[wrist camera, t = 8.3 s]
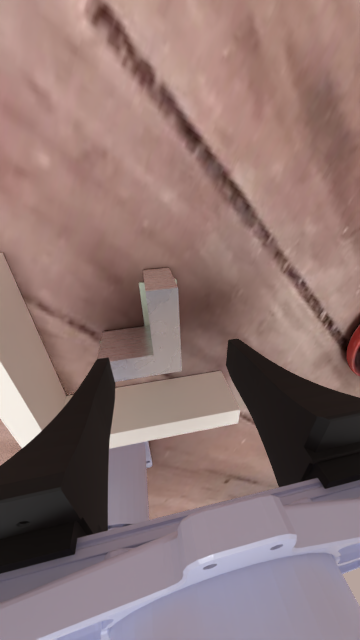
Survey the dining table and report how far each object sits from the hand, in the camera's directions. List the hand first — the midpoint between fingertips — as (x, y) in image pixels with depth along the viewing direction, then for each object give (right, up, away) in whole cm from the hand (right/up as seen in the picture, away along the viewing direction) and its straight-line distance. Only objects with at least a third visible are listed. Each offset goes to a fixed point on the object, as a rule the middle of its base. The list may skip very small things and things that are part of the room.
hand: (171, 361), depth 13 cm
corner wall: (-4, +1, +6) cm, 8 cm away
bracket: (-3, +3, +5) cm, 7 cm away
